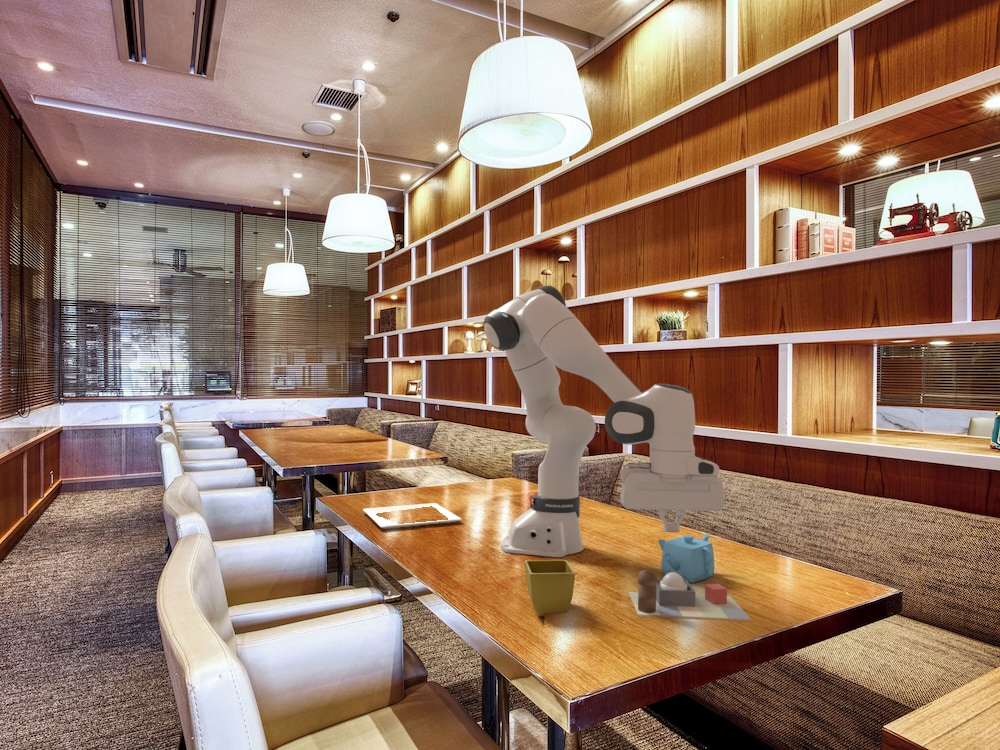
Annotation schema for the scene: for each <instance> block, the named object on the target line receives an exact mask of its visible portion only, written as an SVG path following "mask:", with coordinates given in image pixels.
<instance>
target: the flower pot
mask: <svg viewBox="0 0 1000 750" xmlns="http://www.w3.org/2000/svg"><path fill="white" fill-rule="evenodd" d="M524 569H525V577H526V578H525V580H526V587H527V591H528V595H529V598H530V600H531V603H532V606H533V609H534V611H535V613H536V615H537V616H538V617H545V614H565V613H567V611H568V609H569V608H570V605H571V603H572V599H573V596H574V594H573V593H574V588H575V587H574V586H575V579H576V572H575V570H574V569H573V567H571V565H570V563H569V562H568V560H567V559H535V560H534V559H533V560H531V559H530V560H529V559H528V560H524Z"/></svg>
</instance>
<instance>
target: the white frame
mask: <svg viewBox="0 0 1000 750" xmlns="http://www.w3.org/2000/svg"><path fill="white" fill-rule="evenodd" d="M430 506H432V507H434V508H436V509H437V510H438V511H439V512H440V513H442V514H443V515H445V516H446V517H447V518H448V520H437V521H426V522H415V523H404V524H398V523H397V522H396V523H397V524H396V523H395V522H394V521H393V522H392V521H391V520H389V519H388V520H387V519H385V518H383V517H379V516H377V515H376V514H377V513H383V512H391V511H399V510H407V509H415V508H422V507H430ZM362 511H363V512H365V513H366V515H367V516H368V517H370V518H371V519H372V520H373V521H374V522H375V523H376V524H377V525H378V526H379V528H381V529H385V530H391V528H394V529H401V528H400V527H405V528H410V527H409V526H415V527H420V526H419V525H426V526H429V525H428V524H436V525H438V524H437V523H447V524H449V523H448V522H453V523H457V522H460V521H461V520H463V518H461V517H460V516H458V515H456V514H455V513H453V512H451V511H450V510H448V509H446V508H445V507H443V506H441V505H439V504H438V503H436V502H432V503H431V502H430V503H429V502H428V503H418V504H406V505H404V504H403V505H392V506H379V507H367V508H363V509H362Z"/></svg>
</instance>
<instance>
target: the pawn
mask: <svg viewBox="0 0 1000 750" xmlns="http://www.w3.org/2000/svg"><path fill="white" fill-rule="evenodd" d="M657 579H658V576H657V574H656V573H655V572H654V570H652V569H649V568H648V569H642V570H641V571H640V572H638V575H637V579H636V580H637V583H638V587H637V588H638V591H637V592H638V610H640V611H642V612H646V613H653V612H655V611H656V585H657V581H658V580H657Z"/></svg>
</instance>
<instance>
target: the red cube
mask: <svg viewBox="0 0 1000 750" xmlns="http://www.w3.org/2000/svg"><path fill="white" fill-rule="evenodd" d="M727 589H728V588H726V587H725V586H723V585H721V584H720V583H709V584H707V583H706V584H705V585H704V590H705V591H704V595H705V599H706V600H707V601H709V602H710V603H712V604H713V605H714V604H727V596H728V595H727V594H728V590H727Z"/></svg>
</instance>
